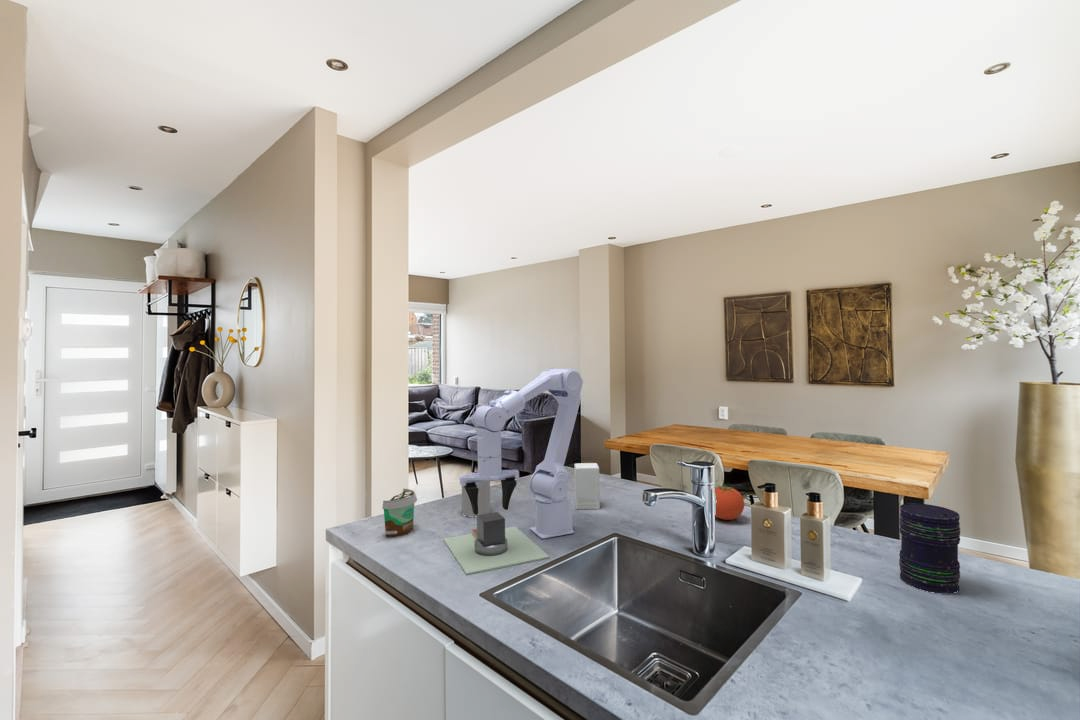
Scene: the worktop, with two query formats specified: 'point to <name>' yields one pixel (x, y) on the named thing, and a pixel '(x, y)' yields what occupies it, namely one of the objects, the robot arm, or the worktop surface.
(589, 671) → the worktop surface
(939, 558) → the storage jar
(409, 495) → the food container
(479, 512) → the cup
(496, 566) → the tool mat
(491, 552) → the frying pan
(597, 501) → the supplement box
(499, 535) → the dark grey cube
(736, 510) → the tomato
